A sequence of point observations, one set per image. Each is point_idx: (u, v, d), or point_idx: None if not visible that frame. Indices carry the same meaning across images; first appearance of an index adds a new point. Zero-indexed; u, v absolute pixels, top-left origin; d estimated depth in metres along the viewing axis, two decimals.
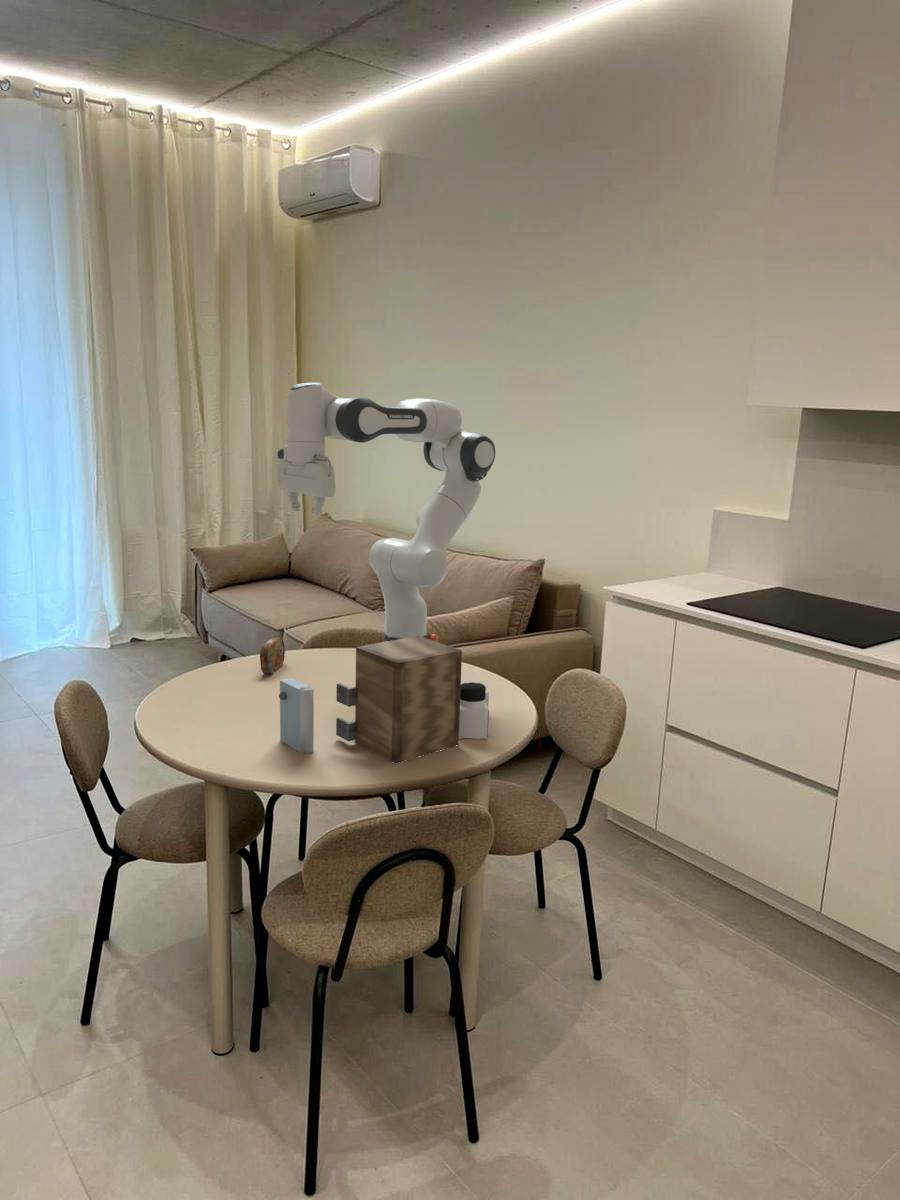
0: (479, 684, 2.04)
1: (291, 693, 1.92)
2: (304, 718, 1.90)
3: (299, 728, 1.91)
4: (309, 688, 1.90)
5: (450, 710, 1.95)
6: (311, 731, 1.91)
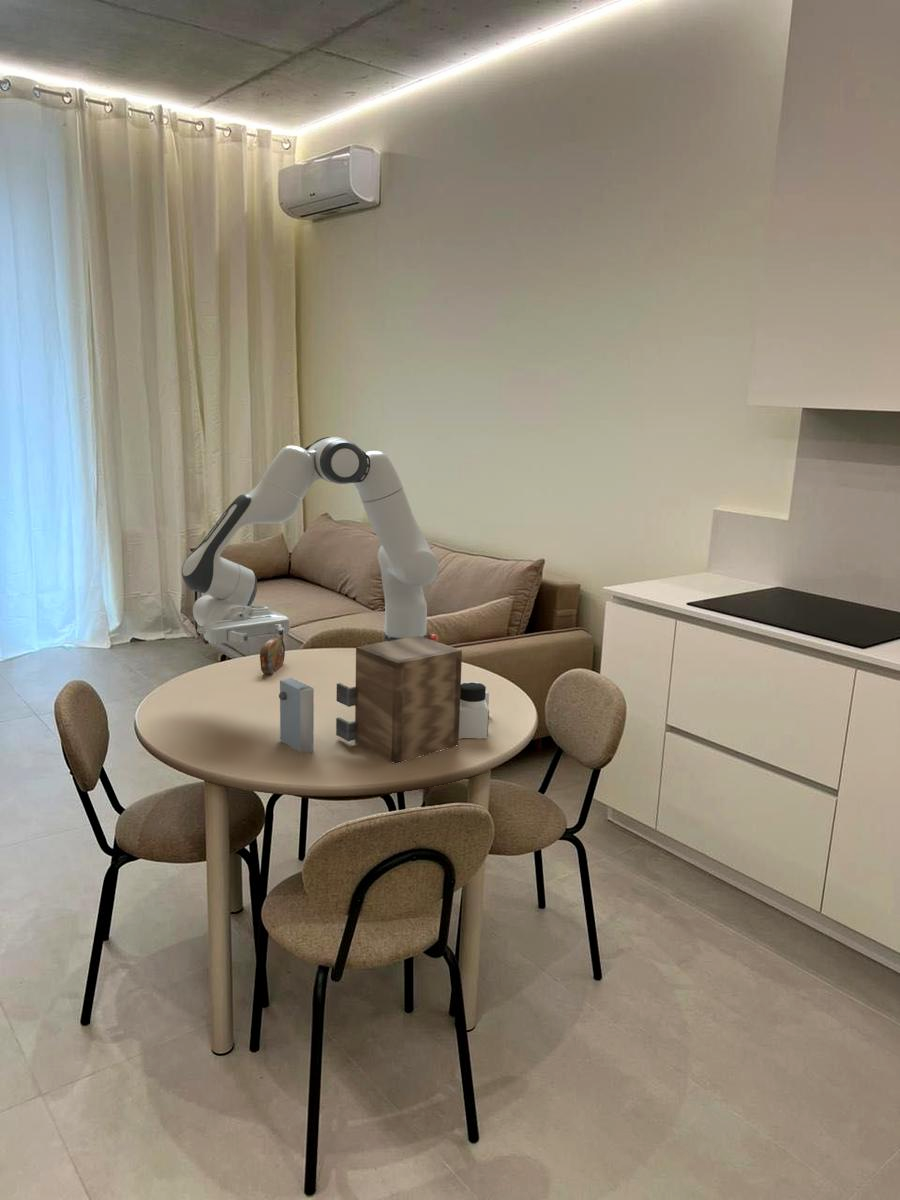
0: (479, 684, 2.04)
1: (291, 693, 1.92)
2: (304, 718, 1.90)
3: (299, 728, 1.91)
4: (309, 688, 1.90)
5: (450, 710, 1.95)
6: (311, 731, 1.91)
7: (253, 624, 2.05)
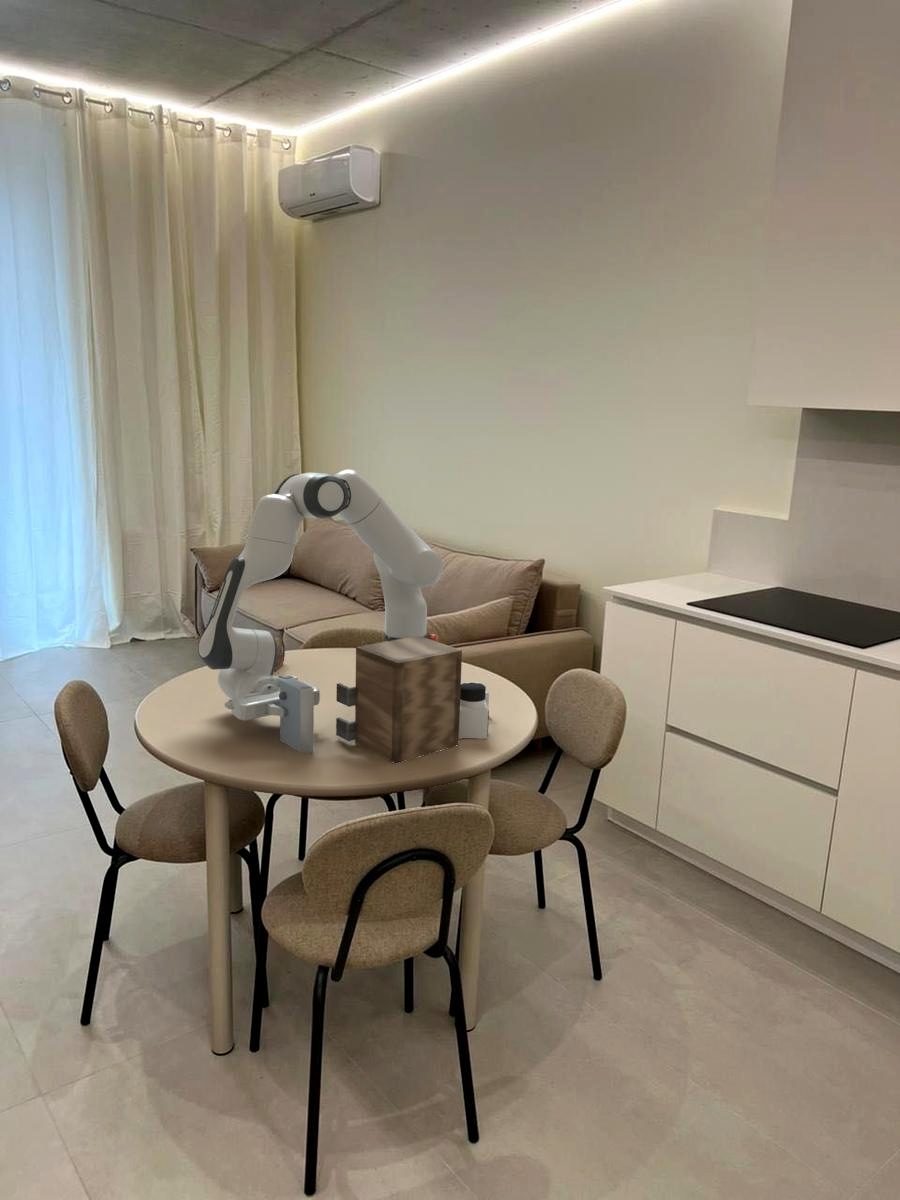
0: (479, 684, 2.04)
1: (291, 693, 1.92)
2: (304, 718, 1.90)
3: (299, 728, 1.91)
4: (309, 688, 1.90)
5: (450, 710, 1.95)
6: (311, 731, 1.91)
7: None
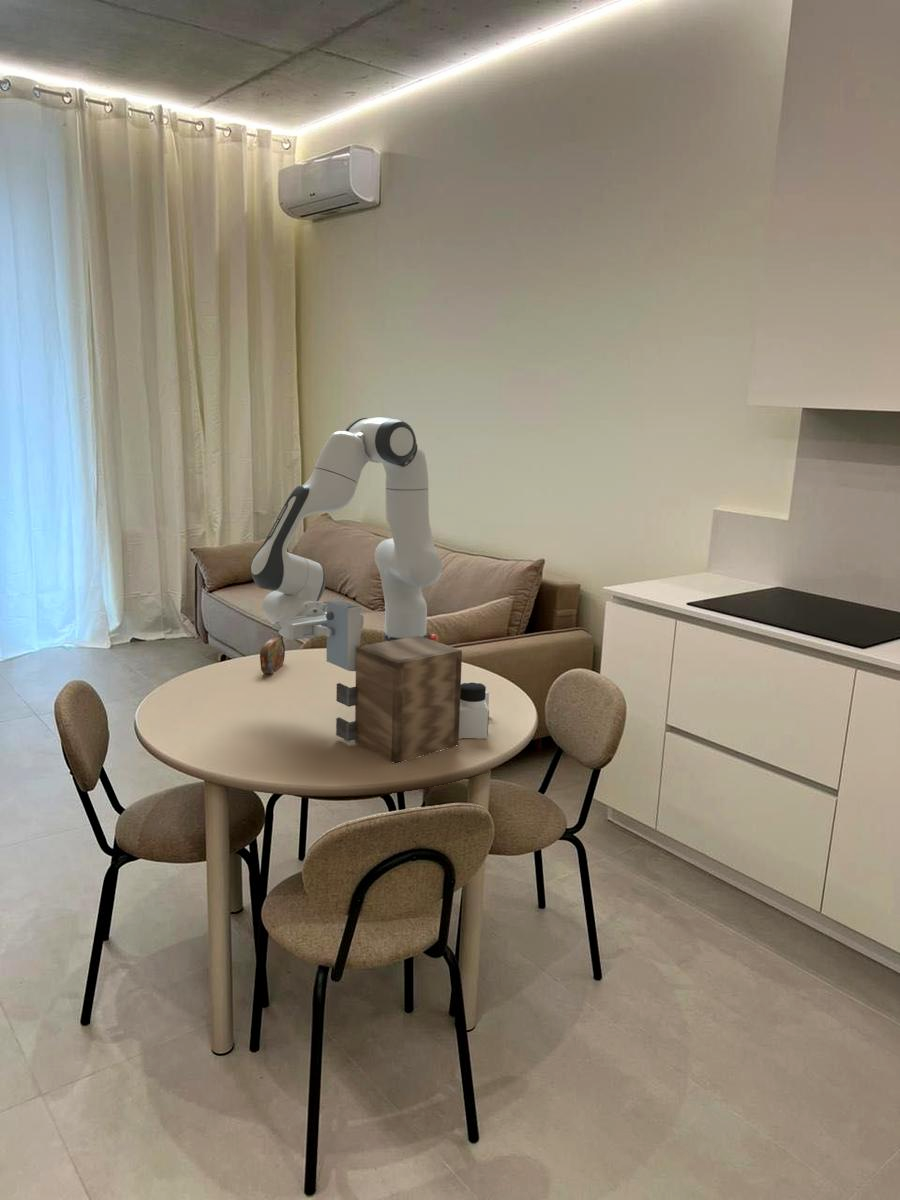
0: (479, 684, 2.04)
1: (338, 612, 1.96)
2: (352, 636, 1.94)
3: (346, 646, 1.96)
4: (356, 607, 1.95)
5: (450, 710, 1.95)
6: None
7: None
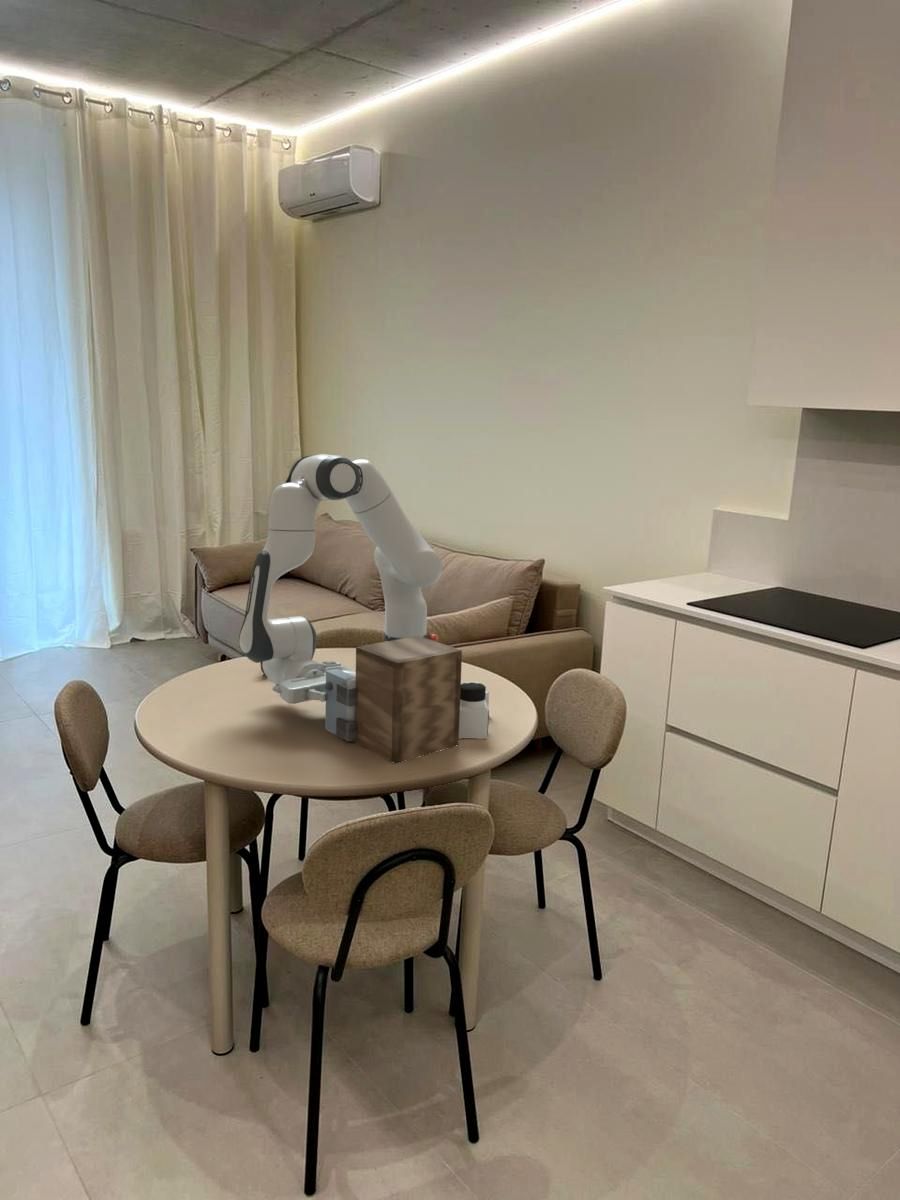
0: (479, 684, 2.04)
1: (337, 683, 2.00)
2: (350, 707, 1.98)
3: (345, 717, 1.99)
4: (355, 678, 1.98)
5: (450, 710, 1.95)
6: None
7: None
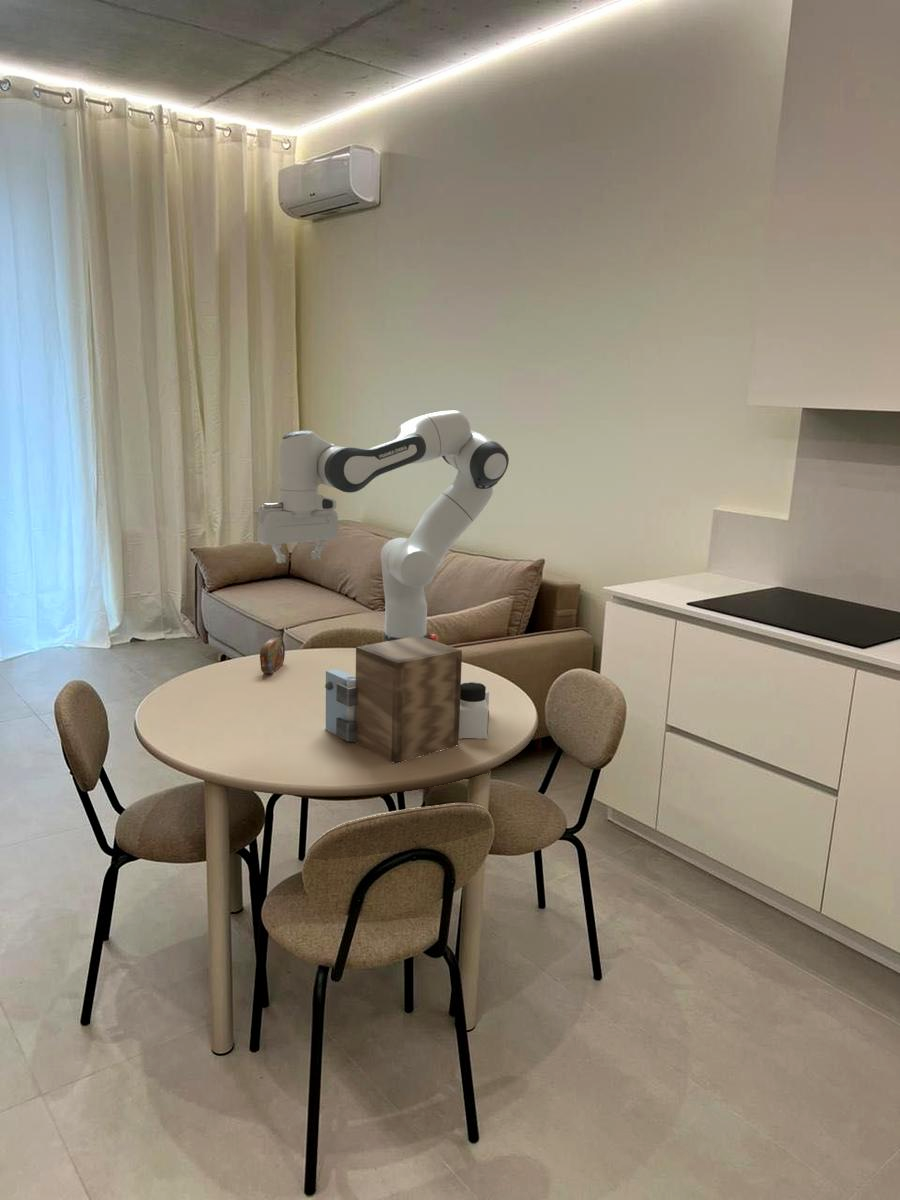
0: (479, 684, 2.04)
1: (337, 683, 2.00)
2: (350, 707, 1.98)
3: (345, 717, 1.99)
4: (355, 678, 1.98)
5: (450, 710, 1.95)
6: None
7: (302, 541, 2.08)
